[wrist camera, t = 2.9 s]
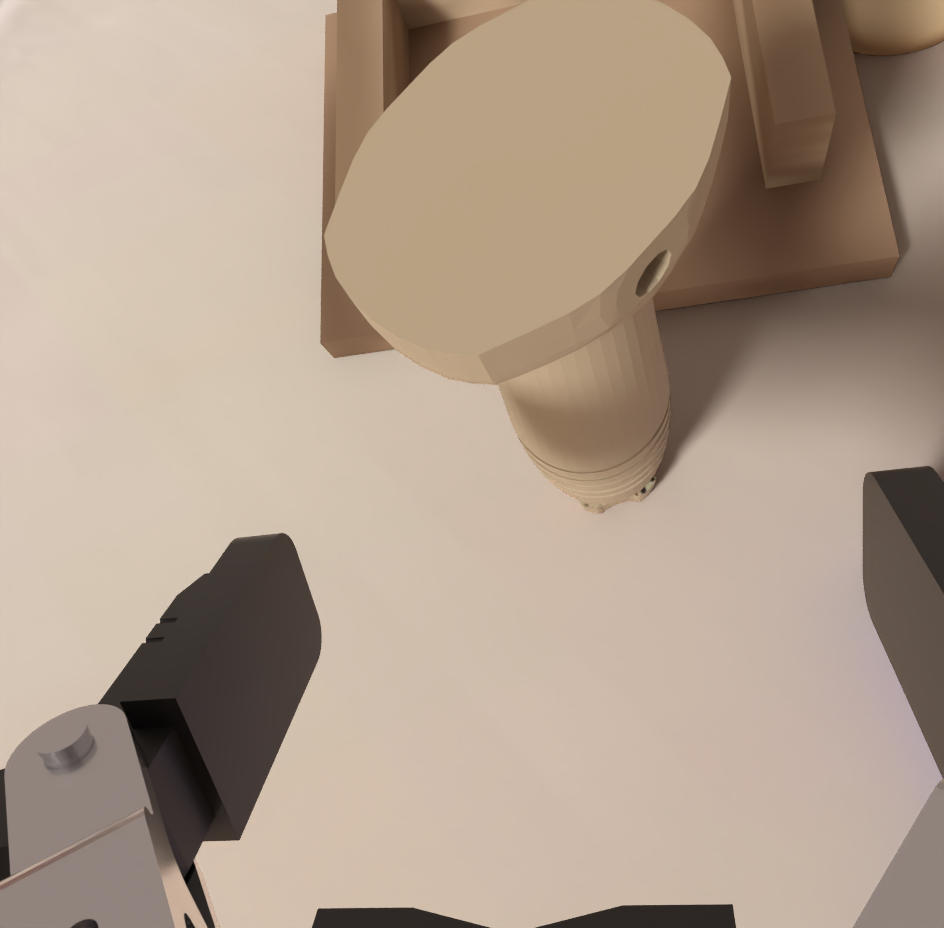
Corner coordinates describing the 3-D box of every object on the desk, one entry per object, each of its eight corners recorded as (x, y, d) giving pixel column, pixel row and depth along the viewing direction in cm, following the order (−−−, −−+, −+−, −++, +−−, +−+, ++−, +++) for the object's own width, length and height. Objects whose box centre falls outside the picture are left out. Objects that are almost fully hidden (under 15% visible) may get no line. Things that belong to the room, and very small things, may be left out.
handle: (740, 434, 26) (802, 74, 12) (599, 596, 25) (492, 417, 11) (615, 345, 28) (544, -58, 14) (482, 495, 27) (267, 234, 13)
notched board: (813, -70, 31) (831, -188, 27) (890, 276, 26) (926, 195, 22) (337, 38, 34) (292, -52, 30) (334, 357, 30) (281, 300, 26)
